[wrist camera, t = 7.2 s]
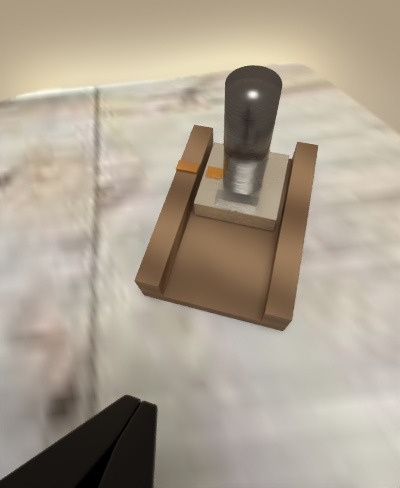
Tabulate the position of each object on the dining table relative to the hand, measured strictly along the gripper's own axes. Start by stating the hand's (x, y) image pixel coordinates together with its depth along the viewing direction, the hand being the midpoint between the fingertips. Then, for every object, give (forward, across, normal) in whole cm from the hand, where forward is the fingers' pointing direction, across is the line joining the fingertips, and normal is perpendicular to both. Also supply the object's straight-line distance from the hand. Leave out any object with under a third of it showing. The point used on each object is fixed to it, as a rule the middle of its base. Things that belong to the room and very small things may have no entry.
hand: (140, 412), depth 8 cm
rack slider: (+20, 0, -3) cm, 20 cm away
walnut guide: (+19, 0, 0) cm, 19 cm away
